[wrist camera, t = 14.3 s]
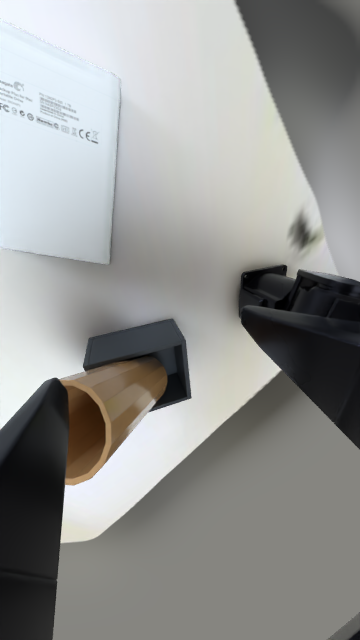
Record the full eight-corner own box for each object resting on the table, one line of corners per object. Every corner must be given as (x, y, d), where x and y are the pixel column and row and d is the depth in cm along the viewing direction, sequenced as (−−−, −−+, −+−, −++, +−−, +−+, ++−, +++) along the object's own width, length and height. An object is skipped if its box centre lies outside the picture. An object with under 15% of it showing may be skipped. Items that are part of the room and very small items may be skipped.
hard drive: (5, 245, 16) (-27, 20, 11) (109, 262, 19) (121, 90, 14) (-5, 247, 15) (-46, -7, 10) (109, 265, 18) (121, 75, 13)
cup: (166, 354, 24) (110, 379, 11) (168, 403, 23) (112, 489, 10) (122, 355, 24) (22, 380, 12) (123, 402, 24) (21, 480, 11)
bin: (173, 318, 24) (185, 339, 20) (179, 371, 28) (191, 398, 24) (88, 337, 22) (82, 366, 18) (110, 392, 26) (109, 425, 22)
